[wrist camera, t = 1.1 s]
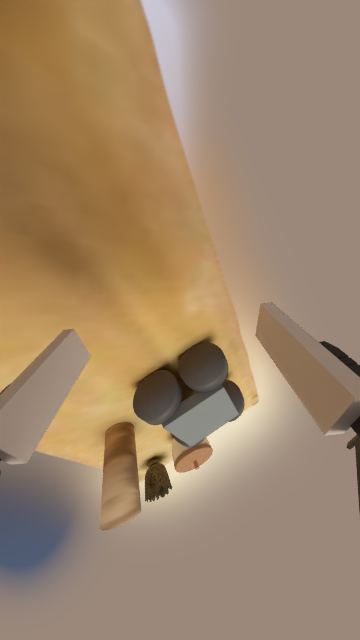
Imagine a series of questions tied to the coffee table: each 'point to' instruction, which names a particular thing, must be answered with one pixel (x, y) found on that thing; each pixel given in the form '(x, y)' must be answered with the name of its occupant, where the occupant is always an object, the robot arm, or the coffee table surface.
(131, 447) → the tan wooden cylinder
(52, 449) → the coffee table surface
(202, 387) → the trolley
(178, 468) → the lidded jar
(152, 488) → the dark brown textured bowl
